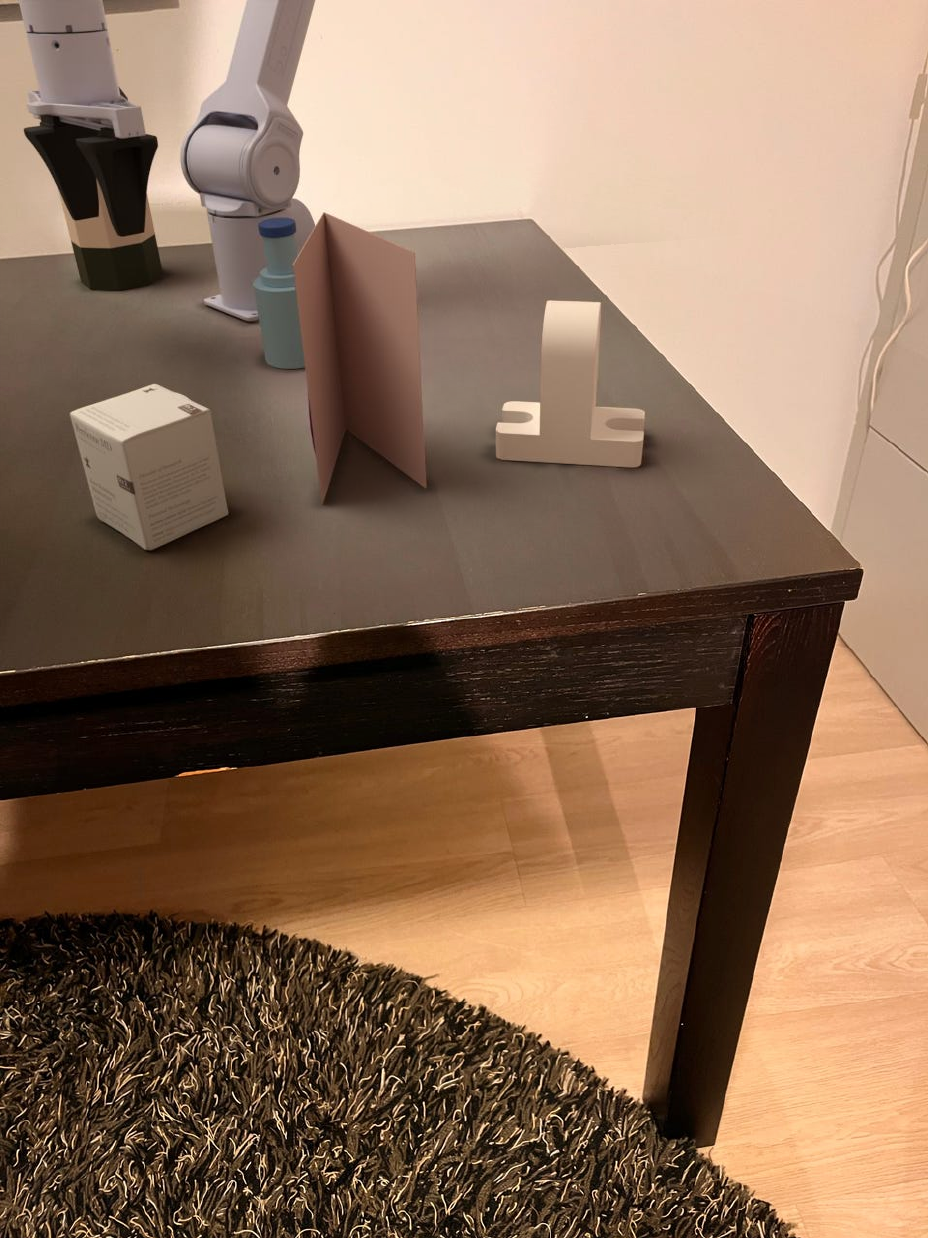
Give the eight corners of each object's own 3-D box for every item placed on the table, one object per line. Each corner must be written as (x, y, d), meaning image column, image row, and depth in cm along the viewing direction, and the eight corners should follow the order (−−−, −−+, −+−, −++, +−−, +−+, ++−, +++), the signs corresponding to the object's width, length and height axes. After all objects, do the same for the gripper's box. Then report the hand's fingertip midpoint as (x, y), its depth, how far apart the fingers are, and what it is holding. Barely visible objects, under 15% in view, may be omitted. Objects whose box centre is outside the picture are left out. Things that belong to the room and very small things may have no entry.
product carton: (95, 520, 61) (64, 411, 57) (178, 485, 65) (154, 379, 61) (149, 554, 58) (120, 440, 54) (232, 515, 61) (212, 405, 57)
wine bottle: (180, 273, 103) (113, -74, 86) (118, 295, 98) (34, -71, 80) (125, 262, 107) (51, -73, 89) (64, 283, 101) (-29, -70, 84)
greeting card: (333, 427, 72) (310, 212, 63) (434, 426, 71) (425, 210, 62) (308, 504, 62) (277, 264, 54) (424, 504, 62) (412, 263, 53)
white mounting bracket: (505, 426, 71) (505, 287, 65) (642, 433, 70) (655, 292, 64) (494, 459, 67) (493, 314, 61) (640, 467, 65) (654, 320, 59)
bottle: (302, 340, 86) (284, 209, 79) (339, 355, 83) (323, 220, 76) (253, 358, 83) (229, 223, 77) (289, 374, 80) (268, 235, 73)
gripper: (-28, 29, 73) (21, 219, 81) (60, 39, 65) (104, 251, 73) (62, 23, 77) (100, 205, 85) (155, 33, 69) (188, 234, 77)
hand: (107, 225), depth 79 cm, fingers open, 7 cm apart
